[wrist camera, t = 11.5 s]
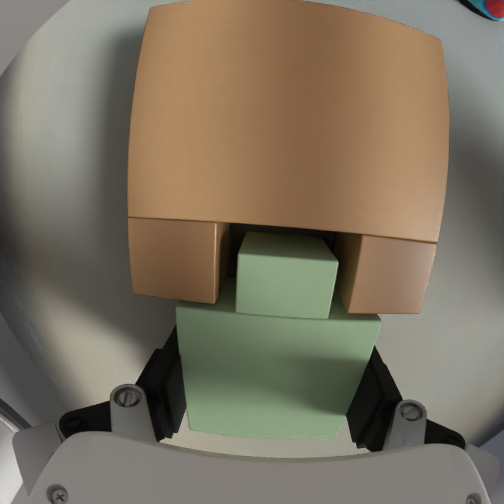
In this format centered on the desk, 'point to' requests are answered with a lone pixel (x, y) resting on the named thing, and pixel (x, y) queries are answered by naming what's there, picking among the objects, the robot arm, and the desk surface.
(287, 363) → the sage pad
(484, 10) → the beverage can
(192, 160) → the cork pad
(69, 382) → the desk surface
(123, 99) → the desk surface
